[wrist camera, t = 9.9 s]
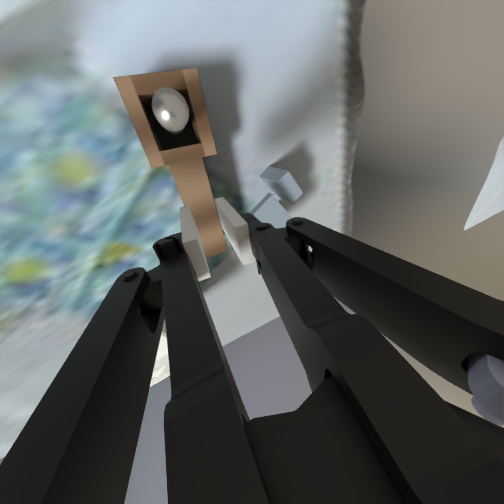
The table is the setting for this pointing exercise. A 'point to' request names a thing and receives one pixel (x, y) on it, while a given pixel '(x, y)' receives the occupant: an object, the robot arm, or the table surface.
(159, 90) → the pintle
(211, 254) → the link
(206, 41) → the table surface
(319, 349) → the robot arm
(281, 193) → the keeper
